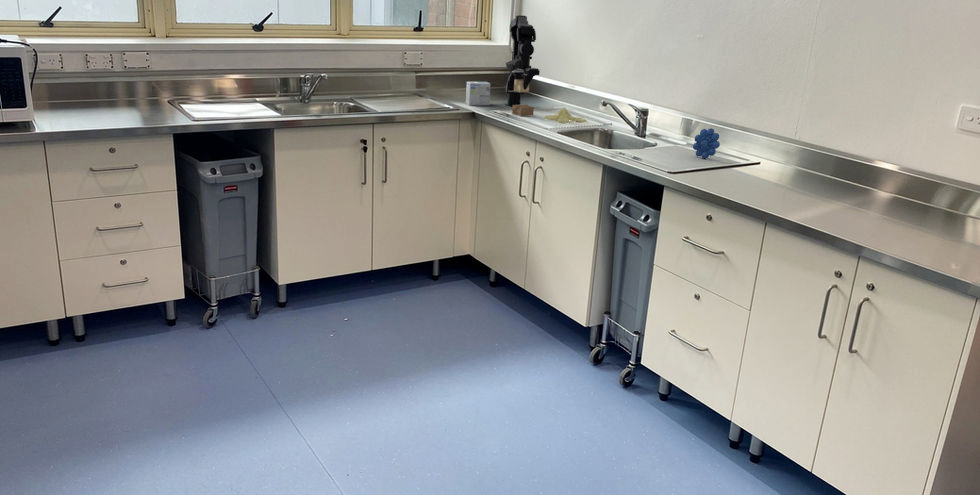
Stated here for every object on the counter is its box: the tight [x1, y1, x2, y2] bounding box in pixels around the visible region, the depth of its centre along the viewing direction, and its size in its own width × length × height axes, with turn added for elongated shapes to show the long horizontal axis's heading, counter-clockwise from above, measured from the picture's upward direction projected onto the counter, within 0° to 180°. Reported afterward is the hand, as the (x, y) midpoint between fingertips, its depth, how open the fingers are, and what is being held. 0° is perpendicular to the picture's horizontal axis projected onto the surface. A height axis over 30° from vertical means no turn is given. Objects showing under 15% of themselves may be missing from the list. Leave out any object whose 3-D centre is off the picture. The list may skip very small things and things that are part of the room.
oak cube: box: [514, 79, 530, 93], centre depth 377 cm, size 5×5×5 cm
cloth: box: [543, 107, 588, 125], centre depth 376 cm, size 22×19×6 cm
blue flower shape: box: [692, 127, 721, 159], centre depth 312 cm, size 12×7×12 cm, turn 39°
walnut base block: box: [511, 104, 534, 117], centre depth 381 cm, size 7×7×4 cm
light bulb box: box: [465, 81, 491, 106], centre depth 400 cm, size 11×7×11 cm, turn 108°
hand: (521, 88), depth 378 cm, fingers closed on oak cube, 5 cm apart
